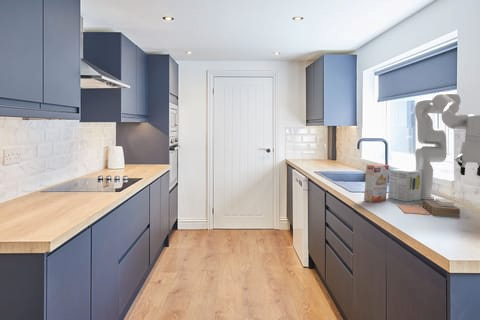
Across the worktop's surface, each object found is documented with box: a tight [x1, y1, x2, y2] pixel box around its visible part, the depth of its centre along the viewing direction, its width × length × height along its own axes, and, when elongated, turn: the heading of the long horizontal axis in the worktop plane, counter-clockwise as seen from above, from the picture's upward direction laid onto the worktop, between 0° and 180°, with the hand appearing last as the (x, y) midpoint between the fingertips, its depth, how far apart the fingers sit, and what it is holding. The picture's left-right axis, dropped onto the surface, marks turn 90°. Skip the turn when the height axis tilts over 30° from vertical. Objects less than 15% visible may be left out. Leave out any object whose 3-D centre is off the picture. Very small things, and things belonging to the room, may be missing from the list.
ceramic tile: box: [435, 198, 455, 206], centre depth 198 cm, size 9×6×2 cm, turn 168°
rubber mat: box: [396, 204, 431, 216], centre depth 202 cm, size 20×12×1 cm, turn 168°
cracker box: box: [363, 163, 390, 203], centre depth 224 cm, size 14×6×21 cm, turn 126°
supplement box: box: [387, 168, 422, 202], centre depth 233 cm, size 13×13×18 cm
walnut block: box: [421, 199, 461, 218], centre depth 199 cm, size 20×12×4 cm, turn 168°
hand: (470, 175), depth 195 cm, fingers open, 6 cm apart
